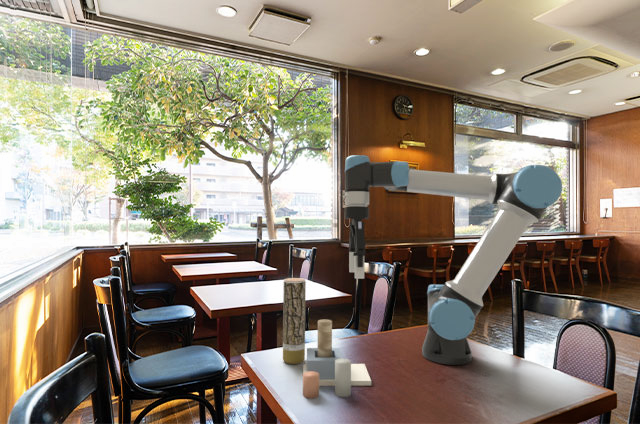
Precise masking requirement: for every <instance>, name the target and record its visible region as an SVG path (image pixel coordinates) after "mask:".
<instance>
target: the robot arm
mask: <svg viewBox="0 0 640 424" xmlns="http://www.w3.org/2000/svg"><path fill="white" fill-rule="evenodd" d="M409 167H410V166H409V163H408V162H407V161H399V160H396V161H379V162H375V161H374V162H372V161H371V160H370V157H369V156H367V155H359V154H357V155H355V154H354V155H349V156H347V157H346V159H345V163H344V195H342V198H343V199H344V205H345V207H344V219H346V220H351V221H350V222H349V241H348V251H349V253H348V254H349V255H348V257H349V258H348V259H349V261H348V262H349V264H348V267H349V268H348V269H349V273H354V279H357V280H358V279H362V280H363V279H365V256H366V253H367V251H366V238H365V237H366V236H365V222H364V221H362V220H368V219H369V218H370V208H369V205H370V187H371V188H378V187H380V188H381V187H382V188H384V189H385V190H387V191H390V192H407V193H418V194H427V195H436V196H444V197H455V198H463V199H464V198H465V199H473V200H480V201H481V200H483V201H487V202H488V203H489V204H490V205H497V206H498V210H497V211H496V213H495V215H494V216H493V217H492V219H491V221H490V222H489V224H488V226H487V227H486V228H485V230H484V232H483V233H482V235H481V237H480V238H479V240H477V243H476V244H475V246H474V248H473V249H472V251H471V252H470V254H469V255H468V256H467V259H466V260H465V261H464V263H463V264H462V267H461V268H460V269H459V271H458V273H457V274H456V276H455V278H454V279H452V280H448V281H447V280H446V282H444V284H435V283H433V284H429V285H428V287H427V292H426V295H427V332H426V335H425V338H424V341H423V342H422V343H423V344H422V347H421V351H422V352H421V355H422V356H423V357H424V358H425V359H426V360H428V361H430V362H433V363H438V364H443V365H449V366H461V365H467V364H470V363H471V362H473V361H472V359H473V356H472V355H473V354H472V350H471V347H470V343H469V340H468V336H469V335H470V334H471V333H472V332H473V330H474V327H475V323H476V318H477V316H478V314H479V313H480V311H481V310H482V308H483V307H484V303H483V296H484V294H485V293H486V291H487V290H488V288H489V286H490V285H491V283H492V282H493V280H494V279H495V277H496V276H497V274H498V272H499V271H500V269H501V268H502V267H503V265H504V264H505V262H506V260H507V259H508V257H509V255H510V254H511V252H512V251H513V249H514V248H515V247H516V245H517V243H518V242H519V241H520V239H521V238H522V235H523V234H524V232H525V231H526V230H527V228H528V227H529V225H531V224H535V223H538V222H539V221H540V219H541V218H542V217H543V215H544V213H545V212H546V210H547V209H548V208H549V207H551V206H553V205H554V204H555V203H556V202H557V201H558V200H559V199H560V197H561V195H562V191H563V183H562V180H561V177H560V176H559V174H558V173H557V172H556V171H555V170H554V169H553V168H551V167H548V166H547V165H544V164H529V165H526V166H524V167H522V168H520V169H519V170H518V171H516V172H510V173H493V174H492V175H490V176H488V175H477V174H467V173H466V174H465V173H456V172H445V171H434V170H433V171H432V170H422V169H412V168H411V169H410V168H409Z"/></svg>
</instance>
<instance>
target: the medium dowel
mask: <svg viewBox="0 0 640 424" xmlns="http://www.w3.org/2000/svg"><path fill="white" fill-rule="evenodd" d="M351 364H352V360H351V359H350V358H349V359H348V358H345V357H344V358H341V359H337V360H335V386H334V395H335V396H337V397H339V398H347V397H350V396H351V395H352V394H351V393H352V392H351V391H352V386H351Z"/></svg>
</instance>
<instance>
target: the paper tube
mask: <svg viewBox="0 0 640 424" xmlns="http://www.w3.org/2000/svg"><path fill="white" fill-rule="evenodd" d="M306 281H307V280H306V279H305V278H302V277H287V278H284V279H283V296H282V297H283V301H282V302H283V304H282V305H283V308H282V310H283V312H282V313H283V314H282V315H283V316H282V318H283V319H282V361H283V362H284V363H285V364H289V365H297V364H298V365H299V364H300V363H303V362H304V361H305V359H306V357H305V354H306V351H305V349H306V286H307V284H306Z"/></svg>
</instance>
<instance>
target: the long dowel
mask: <svg viewBox="0 0 640 424" xmlns="http://www.w3.org/2000/svg"><path fill="white" fill-rule="evenodd" d="M317 348H318V358H332V348H333V320H332V319H318V320H317Z"/></svg>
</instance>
